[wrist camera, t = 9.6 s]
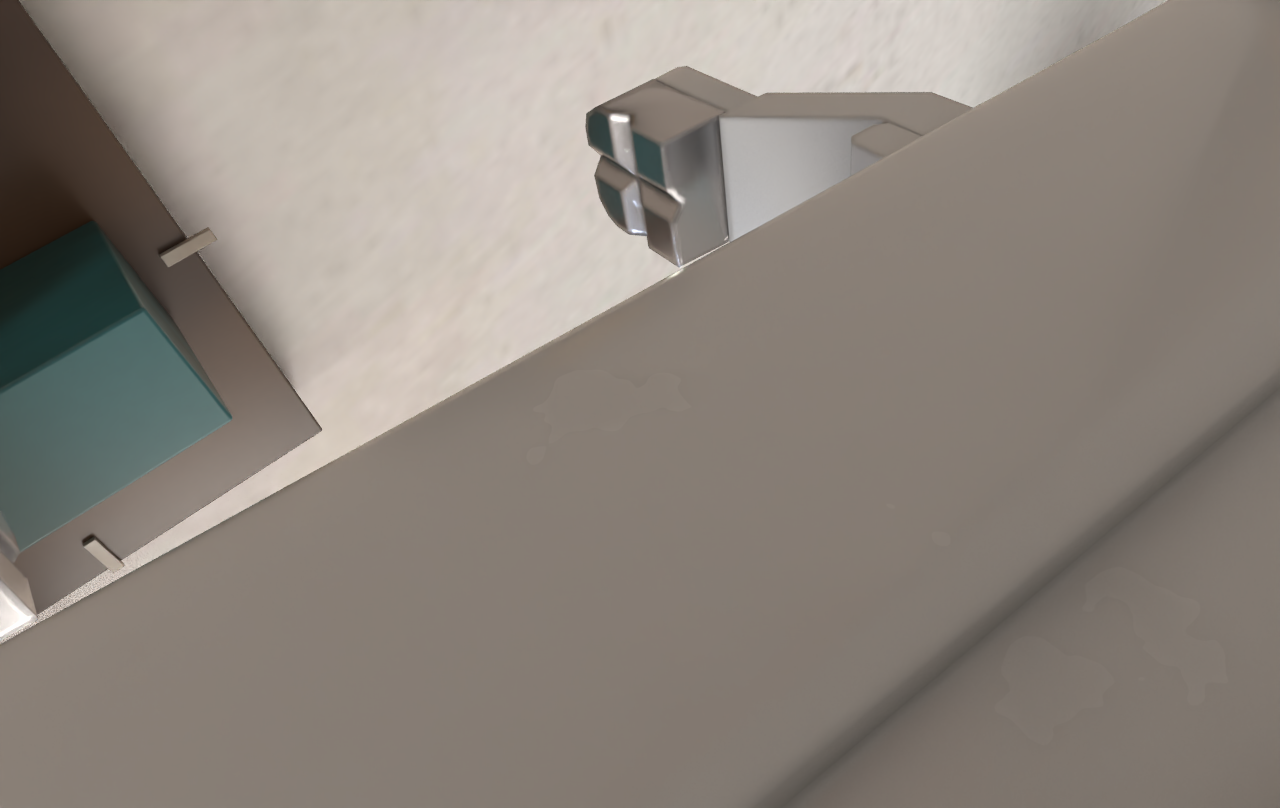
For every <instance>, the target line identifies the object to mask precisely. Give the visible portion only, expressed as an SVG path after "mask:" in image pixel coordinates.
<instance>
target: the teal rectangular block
mask: <svg viewBox="0 0 1280 808" xmlns="http://www.w3.org/2000/svg"><path fill="white" fill-rule="evenodd" d="M232 419H233V418H232V415H231V413H230V411H229V410H228V408H227V406H226V405H225V403H224V401H223V400H222V398H221V397H220V395H219V393H218V392H217V390H216V388H215V387H214V385H213V383H212V382H211V380H210V378H209V377H208V375H207V374H206V372H205V370H204V369H203V367H202V365H201V364H200V362H199V360H198V359H197V357H196V355H195V354H194V352H193V351H192V349H191V347H190V346H189V344H188V342H187V341H186V339H185V337H184V336H183V334H182V332H181V331H180V329H179V328H178V326H177V324H176V323H175V322H174V321H173V319H172V318H171V317H170V315H169V314H168V313H167V312H166V310H165V309H164V308H163V307H162V305H161V304H160V303H159V301H158V300H157V299H156V298H155V296H154V295H153V294H152V293H151V291H150V290H149V289H148V287H147V286H146V285H145V284H144V282H143V281H142V280H141V279H140V277H139V276H138V275H137V273H136V272H135V271H134V270H133V268H132V267H131V266H130V264H129V263H128V262H127V261H126V259H125V258H124V257H123V256H122V254H121V253H120V252H119V250H118V249H117V248H116V247H115V245H114V244H113V243H112V242H111V240H110V239H109V238H108V236H107V235H106V234H105V233H104V231H103V230H102V229H101V228H100V226H99V225H98V224H97V222H95V221H90V222H88V223H86V224H84V225H82V226H81V227H79V228H77V229H75V230H73V231H71V232H69V233H68V234H66V235H64V236H62V237H60V238H58V239H56V240H55V241H53V242H51V243H49V244H47V245H45V246H43V247H42V248H40V249H38V250H36V251H34V252H32V253H30V254H29V255H27V256H25V257H23V258H21V259H19V260H17V261H16V262H14V263H12V264H10V265H8V266H6V267H4V268H3V269H1V270H0V510H1V511H2V512H3V514H4V516H5V518H6V520H7V522H8V524H9V525H10V527H11V529H12V531H13V533H14V535H15V538H16V541H17V544H18V547H19V551H20V553H21V552H23V551H24V550H26V549H28V548H29V547H31V546H32V545H34V544H35V543H37V542H39V541H40V540H42V539H43V538H45V537H47V536H48V535H50V534H51V533H53V532H55V531H56V530H58V529H59V528H61V527H63V526H64V525H66V524H67V523H69V522H71V521H72V520H74V519H75V518H77V517H79V516H80V515H82V514H83V513H85V512H87V511H88V510H90V509H91V508H93V507H95V506H96V505H98V504H99V503H101V502H103V501H104V500H106V499H107V498H109V497H111V496H112V495H114V494H115V493H117V492H118V491H120V490H122V489H123V488H125V487H126V486H128V485H130V484H131V483H133V482H134V481H136V480H138V479H139V478H141V477H142V476H144V475H146V474H147V473H149V472H150V471H152V470H154V469H155V468H157V467H158V466H160V465H162V464H163V463H165V462H166V461H168V460H170V459H171V458H173V457H174V456H176V455H178V454H179V453H181V452H182V451H184V450H186V449H187V448H189V447H190V446H192V445H194V444H195V443H197V442H198V441H200V440H202V439H203V438H205V437H206V436H208V435H209V434H211V433H213V432H214V431H216V430H217V429H219V428H221V427H222V426H224V425H225V424H227V423H229V422H230V421H231V420H232ZM20 553H19V554H20Z"/></svg>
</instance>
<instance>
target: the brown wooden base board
mask: <svg viewBox="0 0 1280 808" xmlns="http://www.w3.org/2000/svg"><path fill="white" fill-rule="evenodd" d="M90 221H95V222H97V224H98V225H99V226H100V228H101V229H102V230H103V231H104V233H105V234H106V235H107V236H108V238H109V239H110V240H111V242H112V243H113V244H114V245H115V247H116V248H117V249H118V250H119V252H120V253H121V254H122V256H123V257H124V258H125V259H126V261H127V262H128V263H129V264H130V266H131V267H132V268H133V270H134V271H135V272H136V273H137V275H138V276H139V277H140V279H141V280H142V281H143V282H144V284H145V285H146V286H147V287H148V289H149V290H150V291H151V293H152V294H153V295H154V296H155V298H156V299H157V300H158V301H159V303H160V304H161V305H162V307H163V308H164V309H165V310H166V312H167V313H168V314H169V315H170V317H171V318H172V319H173V321H174V322H175V323H176V324H177V326H178V328H179V329H180V331H181V332H182V334H183V336H184V337H185V339H186V341H187V342H188V344H189V346H190V347H191V349H192V351H193V352H194V354H195V355H196V357H197V359H198V360H199V362H200V364H201V365H202V367H203V369H204V370H205V372H206V374H207V375H208V377H209V378H210V380H211V382H212V383H213V385H214V387H215V388H216V390H217V392H218V393H219V395H220V397H221V398H222V400H223V401H224V403H225V405H226V406H227V408H228V410H229V411H230V413H231V415H232V418H233V419H232V420H231V421H230V422H229V423H227V424H225V425H224V426H222V427H221V428H219V429H217V430H216V431H214V432H213V433H211V434H209V435H208V436H206V437H205V438H203V439H202V440H200V441H198V442H197V443H195V444H194V445H192V446H190V447H189V448H187V449H186V450H184V451H182V452H181V453H179V454H178V455H176V456H174V457H173V458H171V459H170V460H168V461H166V462H165V463H163V464H162V465H160V466H158V467H157V468H155V469H154V470H152V471H150V472H149V473H147V474H146V475H144V476H142V477H141V478H139V479H138V480H136V481H134V482H133V483H131V484H130V485H128V486H126V487H125V488H123V489H122V490H120V491H118V492H117V493H115V494H114V495H112V496H111V497H109V498H107V499H106V500H104V501H103V502H101V503H99V504H98V505H96V506H95V507H93V508H91V509H90V510H88V511H87V512H85V513H83V514H82V515H80V516H79V517H77V518H75V519H74V520H72V521H71V522H69V523H67V524H66V525H64V526H63V527H61V528H59V529H58V530H56V531H55V532H53V533H51V534H50V535H48V536H47V537H45V538H43V539H42V540H40V541H39V542H37V543H35V544H34V545H32V546H31V547H29V548H28V549H26V550H24V551H23V552H21V553H20V554H19V555H18V557H17V559H16V560H15V562H14V565H15V566H16V567H17V568H18V569H19V570H20V571H21V572H22V573H23V574H24V575H25V577H26V578H27V579H28V583H29V586H30V590H31V594H32V598H33V601H34V605H35V609H36V613H37V615H38V614H39V613H41V612H42V611H44V610H45V609H47V608H48V607H50V606H51V605H53V604H55V603H56V602H58V601H59V600H61V599H62V598H64V597H65V596H67V595H68V594H70V593H72V592H73V591H75V590H76V589H78V588H79V587H81V586H82V585H84V584H85V583H87V582H89V581H90V580H92V579H93V578H95V577H96V576H98V575H99V574H101V573H102V572H104V571H106V570H107V569H109V570H110V571H112V572H113V573H115V572H116V571H118V570H119V569H121V568H122V567H124V563H123V562H122V561H121V560H123V559H124V558H126V557H127V556H129V555H130V554H132V553H133V552H135V551H137V550H138V549H140V548H141V547H143V546H144V545H146V544H147V543H149V542H150V541H152V540H154V539H155V538H157V537H158V536H160V535H161V534H163V533H164V532H166V531H167V530H169V529H171V528H172V527H174V526H175V525H177V524H178V523H180V522H181V521H183V520H184V519H186V518H188V517H189V516H191V515H192V514H194V513H195V512H197V511H198V510H200V509H201V508H203V507H205V506H206V505H208V504H209V503H211V502H212V501H214V500H215V499H217V498H219V497H220V496H222V495H223V494H225V493H226V492H228V491H229V490H231V489H232V488H234V487H236V486H237V485H239V484H240V483H242V482H243V481H245V480H246V479H248V478H249V477H251V476H253V475H254V474H256V473H257V472H259V471H260V470H262V469H263V468H265V467H266V466H268V465H270V464H271V463H273V462H274V461H276V460H277V459H279V458H280V457H282V456H283V455H285V454H287V453H288V452H290V451H291V450H293V449H294V448H296V447H297V446H299V445H300V444H302V443H304V442H305V441H307V440H308V439H310V438H311V437H313V436H314V435H316V434H318V433H319V432H321V431H322V428H321V427H320V425H319V424H318V422H317V421H316V420H315V418H314V417H313V415H312V414H311V413H310V411H309V410H308V408H307V407H306V405H305V404H304V403H303V401H302V400H301V398H300V397H299V396H298V394H297V393H296V391H295V390H294V389H293V387H292V386H291V384H290V383H289V381H288V380H287V379H286V377H285V376H284V374H283V373H282V372H281V370H280V369H279V367H278V366H277V365H276V363H275V362H274V360H273V359H272V357H271V356H270V355H269V353H268V352H267V350H266V349H265V348H264V346H263V345H262V343H261V342H260V341H259V339H258V338H257V336H256V335H255V333H254V332H253V331H252V329H251V328H250V326H249V325H248V324H247V322H246V321H245V319H244V318H243V317H242V315H241V314H240V312H239V311H238V310H237V308H236V307H235V305H234V304H233V302H232V301H231V300H230V298H229V297H228V295H227V294H226V293H225V291H224V290H223V288H222V287H221V286H220V284H219V283H218V281H217V280H216V278H215V277H214V276H213V274H212V273H211V271H210V270H209V269H208V267H207V266H206V264H205V263H204V262H203V260H202V259H201V257H200V256H199V254H198V253H197V251H198V250H200V249H202V248H204V247H205V246H207V245H209V244H211V243H212V242H214V241H216V240H217V239H216V237H215V236H214V234H213V233H212V231H211V230H210V228H209V227H208V228H206V229H204V230H202V231H200V232H199V233H197V234H195V235H193V236H191V237H190V238H188V239H187V238H186V236H185V235H184V233H183V232H182V231H181V229H180V228H179V226H178V225H177V223H176V222H175V221H174V219H173V218H172V216H171V215H170V214H169V212H168V211H167V209H166V208H165V207H164V205H163V204H162V202H161V201H160V199H159V198H158V197H157V195H156V194H155V192H154V191H153V190H152V188H151V187H150V185H149V184H148V183H147V181H146V180H145V178H144V177H143V175H142V174H141V173H140V171H139V170H138V168H137V167H136V166H135V164H134V163H133V161H132V160H131V159H130V157H129V156H128V154H127V153H126V151H125V150H124V149H123V147H122V146H121V144H120V143H119V142H118V140H117V139H116V137H115V136H114V135H113V133H112V132H111V130H110V129H109V128H108V126H107V125H106V123H105V122H104V120H103V119H102V118H101V116H100V115H99V113H98V112H97V111H96V109H95V108H94V106H93V105H92V104H91V102H90V101H89V99H88V98H87V96H86V95H85V94H84V92H83V91H82V89H81V88H80V87H79V85H78V84H77V82H76V81H75V80H74V78H73V77H72V75H71V74H70V72H69V71H68V70H67V68H66V67H65V65H64V64H63V63H62V61H61V60H60V58H59V57H58V56H57V54H56V53H55V51H54V50H53V48H52V47H51V46H50V44H49V43H48V41H47V40H46V39H45V37H44V36H43V34H42V33H41V32H40V30H39V29H38V27H37V26H36V25H35V23H34V22H33V20H32V19H31V17H30V16H29V15H28V13H27V12H26V10H25V9H24V8H23V6H22V5H21V3H20V2H19V1H18V0H0V270H1V269H3V268H4V267H6V266H8V265H10V264H12V263H14V262H16V261H17V260H19V259H21V258H23V257H25V256H27V255H29V254H30V253H32V252H34V251H36V250H38V249H40V248H42V247H43V246H45V245H47V244H49V243H51V242H53V241H55V240H56V239H58V238H60V237H62V236H64V235H66V234H68V233H69V232H71V231H73V230H75V229H77V228H79V227H81V226H82V225H84V224H86V223H88V222H90Z"/></svg>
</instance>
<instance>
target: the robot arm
mask: <svg viewBox="0 0 1280 808" xmlns="http://www.w3.org/2000/svg"><path fill="white" fill-rule="evenodd" d="M586 133H587V139H588V144H589V146H590V147H591V148H593V149H594V150H595V151H596V152H597V153H598V154H600V155H601V157H600V160H599V163H598V166H597V169H596V172H595V175H594V176H595V180H596V185H597V189H598V194H599V198H600V200H601V202H602V204H603V206H604V208H605V210H606V212H607V214H608V216H609V217H610V218H611V219H612V220H613V222H614V223H615V224H616V225H617V226H618V227H619V228H621V229H622V230H623V231H625V232H626V233H628V234H630V235H641V236H647V240H648V246H649V248H650V249H652V250H653V251H655V252H656V253H658V254H659V255H661V256H662V257H664V258H665V259H667V260H668V261H670V262H671V263H673V264H674V265H676V266H677V267H680V266H682V265H684V264H686V263H688V262H690V261H692V260H694V259H696V258H698V257H700V256H702V255H704V254H706V253H708V252H710V251H712V250H714V249H716V248H718V247H719V246H721V245H723V244H725V243H727V242H729V241H730V243H728V244H726V245H724V246H722V247H721V248H719V249H717V250H715V251H713V252H712V253H710V254H708V255H706V256H704V257H702V258H701V259H699V260H697V261H695V262H693V263H692V264H690V265H688V266H686V267H684V268H683V269H681V270H679V271H677V272H675V273H673V274H672V275H670V276H668V277H666V278H664V279H663V280H661V281H659V282H657V283H655V284H654V285H652V286H650V287H648V288H646V289H644V290H643V291H641V292H639V293H637V294H635V295H634V296H632V297H630V298H628V299H626V300H625V301H623V302H621V303H619V304H617V305H615V306H614V307H612V308H610V309H608V310H606V311H605V312H603V313H601V314H599V315H597V316H595V317H594V318H592V319H590V320H588V321H586V322H585V323H583V324H581V325H579V326H577V327H576V328H574V329H572V330H570V331H568V332H566V333H565V334H563V335H561V336H559V337H557V338H556V339H554V340H552V341H550V342H548V343H547V344H545V345H543V346H541V347H539V348H537V349H536V350H534V351H532V352H530V353H528V354H527V355H525V356H523V357H521V358H519V359H517V360H516V361H514V362H512V363H510V364H508V365H507V366H505V367H503V368H501V369H499V370H497V371H496V372H494V373H492V374H490V375H488V376H487V377H485V378H483V379H481V380H479V381H477V382H476V383H474V384H472V385H470V386H468V387H467V388H465V389H463V390H461V391H459V392H457V393H456V394H454V395H452V396H450V397H448V398H447V399H445V400H443V401H441V402H439V403H437V404H436V405H434V406H432V407H430V408H428V409H427V410H425V411H423V412H421V413H419V414H418V415H416V416H414V417H412V418H410V419H408V420H407V421H405V422H403V423H401V424H399V425H398V426H396V427H394V428H392V429H390V430H388V431H387V432H385V433H383V434H381V435H379V436H378V437H376V438H374V439H372V440H370V441H368V442H367V443H365V444H363V445H361V446H359V447H358V448H356V449H354V450H352V451H350V452H348V453H347V454H345V455H343V456H341V457H339V458H338V459H336V460H334V461H332V462H330V463H328V464H327V465H325V466H323V467H321V468H319V469H318V470H316V471H314V472H312V473H310V474H308V475H307V476H305V477H303V478H301V479H299V480H298V481H296V482H294V483H292V484H290V485H289V486H287V487H285V488H283V489H281V490H279V491H278V492H276V493H274V494H272V495H270V496H269V497H267V498H265V499H263V500H261V501H259V502H258V503H256V504H254V505H252V506H250V507H249V508H247V509H245V510H243V511H241V512H239V513H238V514H236V515H234V516H232V517H230V518H229V519H227V520H225V521H223V522H221V523H219V524H218V525H216V526H214V527H212V528H210V529H209V530H207V531H205V532H203V533H201V534H199V535H198V536H196V537H194V538H192V539H190V540H189V541H187V542H185V543H183V544H181V545H179V546H178V547H176V548H174V549H172V550H170V551H169V552H167V553H165V554H163V555H161V556H160V557H158V558H156V559H154V560H152V561H150V562H149V563H147V564H145V565H143V566H141V567H140V568H138V569H136V570H134V571H132V572H130V573H129V574H127V575H125V576H123V577H121V578H120V579H118V580H116V581H114V582H112V583H110V584H109V585H107V586H105V587H103V588H101V589H100V590H98V591H96V592H94V593H92V594H90V595H89V596H87V597H85V598H83V599H81V600H80V601H78V602H76V603H74V604H72V605H70V606H69V607H67V608H65V609H63V610H61V611H60V612H58V613H56V614H54V615H52V616H51V617H49V618H47V619H45V620H43V621H41V622H40V623H38V624H36V625H34V626H32V627H31V628H29V629H27V630H25V631H23V632H22V633H20V634H18V635H16V636H14V637H13V638H11V639H9V640H7V641H5V642H3V643H2V644H0V808H1280V0H1168V1H1166V2H1164V3H1163V4H1161V5H1159V6H1157V7H1156V8H1154V9H1152V10H1150V11H1149V12H1147V13H1145V14H1143V15H1142V16H1140V17H1138V18H1136V19H1135V20H1133V21H1131V22H1129V23H1127V24H1126V25H1124V26H1122V27H1120V28H1118V29H1116V30H1115V31H1113V32H1111V33H1109V34H1107V35H1106V36H1104V37H1102V38H1100V39H1098V40H1096V41H1095V42H1093V43H1091V44H1089V45H1087V46H1086V47H1084V48H1082V49H1080V50H1078V51H1076V52H1075V53H1073V54H1071V55H1069V56H1067V57H1065V58H1064V59H1062V60H1060V61H1058V62H1056V63H1055V64H1053V65H1051V66H1049V67H1047V68H1045V69H1044V70H1042V71H1040V72H1038V73H1036V74H1035V75H1033V76H1031V77H1029V78H1027V79H1025V80H1024V81H1022V82H1020V83H1018V84H1016V85H1015V86H1013V87H1011V88H1009V89H1007V90H1005V91H1004V92H1002V93H1000V94H998V95H996V96H995V97H993V98H991V99H989V100H987V101H986V102H984V103H982V104H980V105H978V106H976V107H975V108H972V107H969V106H967V105H964V104H961V103H959V102H956V101H953V100H951V99H948V98H945V97H943V96H940V95H937V94H935V93H932V92H871V93H765V94H763V95H761V96H759V97H757V96H755V95H752V94H750V93H748V92H745V91H743V90H741V89H738V88H736V87H734V86H732V85H729V84H727V83H725V82H722V81H720V80H718V79H715V78H713V77H711V76H708V75H706V74H704V73H702V72H699V71H697V70H695V69H692V68H690V67H688V66H683V67H677V68H675V69H673V70H671V71H669V72H667V73H665V74H663V75H661V76H659V77H657V78H656V79H652V80H650V81H648V82H646V83H644V84H642V85H640V86H638V87H636V88H634V89H632V90H630V91H628V92H626V93H624V94H622V95H620V96H618V97H616V98H614V99H611V100H609V101H607V102H605V103H603V104H601V105H599V106H597V107H595V108H594V109H592V110H591V111H589V112H588V113H586ZM19 553H20V551H19V547H18V544H17V541H16V538H15V535H14V533H13V531H12V529H11V527H10V525H9V524H8V522H7V520H6V518H5V516H4V514H3V512H2V511H1V510H0V641H1V640H3V639H5V638H7V637H8V636H10V635H12V634H14V633H15V632H17V631H19V630H20V629H22V628H24V627H26V626H27V625H29V624H31V623H33V622H34V621H36V620H38V616H37V613H36V609H35V605H34V601H33V598H32V594H31V590H30V586H29V583H28V579H27V578H26V577H25V575H24V574H23V573H22V572H21V571H20V570H19V569H18V568H17V567H16V566H15V565H14V562H15V560H16V559H17V557H18V555H19Z"/></svg>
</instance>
